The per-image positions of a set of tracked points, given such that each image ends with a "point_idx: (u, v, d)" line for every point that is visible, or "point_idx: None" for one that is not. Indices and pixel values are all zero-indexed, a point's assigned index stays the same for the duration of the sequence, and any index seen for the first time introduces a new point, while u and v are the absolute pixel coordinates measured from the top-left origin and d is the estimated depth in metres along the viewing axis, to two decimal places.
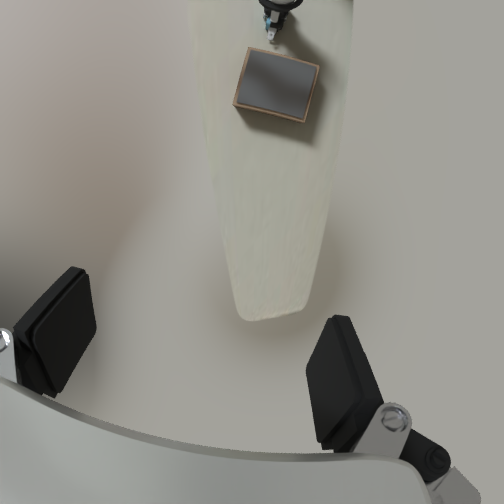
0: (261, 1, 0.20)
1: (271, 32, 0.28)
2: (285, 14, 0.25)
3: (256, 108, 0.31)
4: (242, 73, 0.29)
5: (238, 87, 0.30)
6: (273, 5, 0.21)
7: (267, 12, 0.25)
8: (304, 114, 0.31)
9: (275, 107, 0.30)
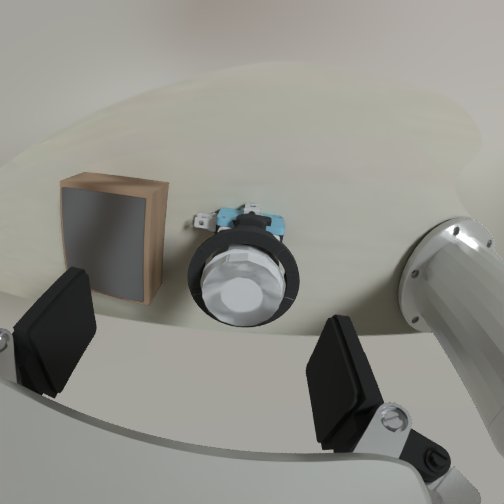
0: (204, 245, 0.13)
1: (206, 223, 0.20)
2: None
3: (62, 218, 0.18)
4: (103, 189, 0.17)
5: (82, 186, 0.17)
6: (196, 270, 0.13)
7: (236, 223, 0.18)
8: None
9: (68, 246, 0.19)
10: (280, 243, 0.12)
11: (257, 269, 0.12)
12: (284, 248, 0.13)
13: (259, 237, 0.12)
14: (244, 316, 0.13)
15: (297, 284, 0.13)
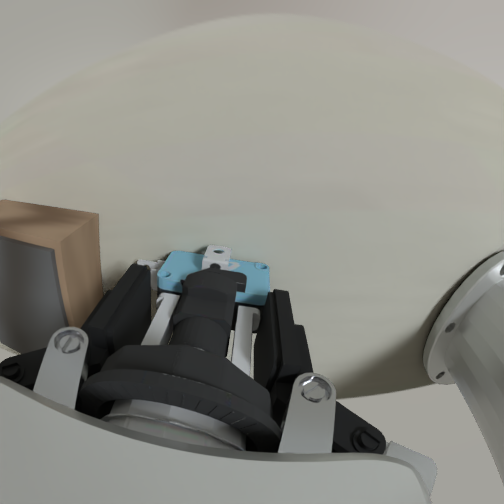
0: (87, 389, 0.05)
1: None
2: None
3: None
4: (5, 233, 0.09)
5: None
6: (91, 415, 0.05)
7: (184, 292, 0.10)
8: None
9: None
10: (238, 407, 0.05)
11: None
12: (248, 415, 0.05)
13: (187, 398, 0.05)
14: None
15: None
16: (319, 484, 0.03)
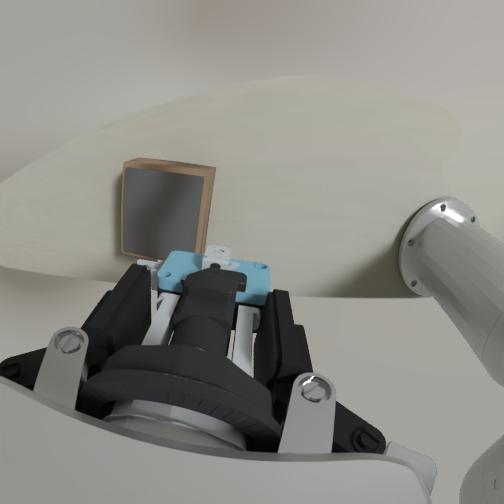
0: (88, 389, 0.05)
1: None
2: None
3: (123, 194, 0.23)
4: (166, 169, 0.22)
5: (146, 166, 0.22)
6: (92, 416, 0.05)
7: (184, 292, 0.10)
8: (129, 252, 0.26)
9: (127, 218, 0.24)
10: (240, 406, 0.05)
11: None
12: (250, 415, 0.05)
13: (189, 398, 0.05)
14: None
15: None
16: (319, 484, 0.03)
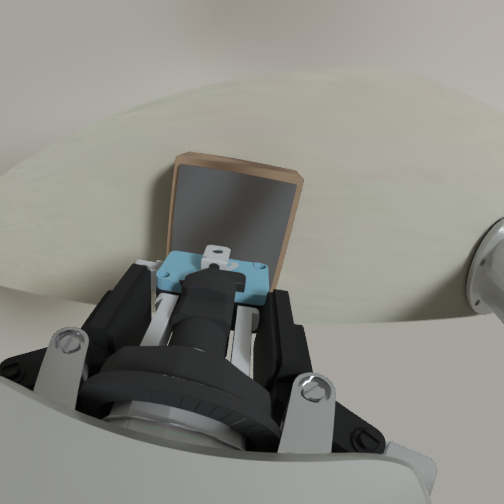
0: (86, 390, 0.05)
1: None
2: None
3: (172, 201, 0.17)
4: (242, 170, 0.17)
5: (211, 164, 0.16)
6: None
7: (183, 292, 0.10)
8: None
9: (178, 236, 0.18)
10: (239, 408, 0.05)
11: None
12: (248, 416, 0.05)
13: (187, 399, 0.05)
14: None
15: None
16: (319, 484, 0.03)
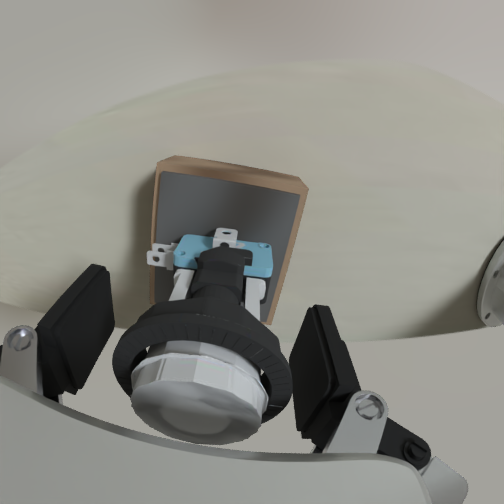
0: (126, 339, 0.07)
1: (163, 259, 0.14)
2: None
3: (154, 215, 0.15)
4: (235, 178, 0.14)
5: (198, 171, 0.14)
6: (124, 370, 0.07)
7: (199, 266, 0.12)
8: None
9: None
10: (257, 339, 0.06)
11: (213, 393, 0.06)
12: (264, 347, 0.06)
13: (216, 332, 0.06)
14: (204, 436, 0.07)
15: (289, 390, 0.07)
16: (319, 484, 0.03)
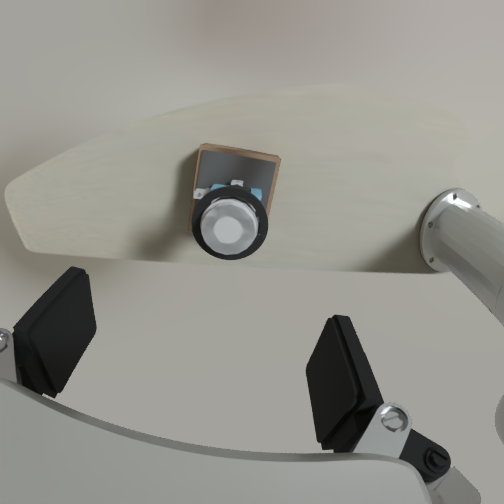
0: (203, 198, 0.19)
1: (202, 195, 0.26)
2: None
3: (196, 174, 0.27)
4: (242, 153, 0.26)
5: (222, 150, 0.26)
6: (197, 217, 0.19)
7: None
8: None
9: None
10: (253, 195, 0.19)
11: (237, 210, 0.18)
12: (256, 198, 0.19)
13: (239, 191, 0.18)
14: (230, 246, 0.19)
15: (267, 224, 0.19)
16: (319, 484, 0.03)
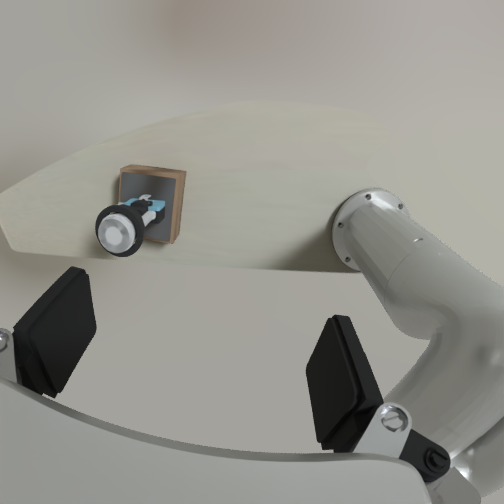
0: (100, 214, 0.24)
1: None
2: None
3: (120, 190, 0.33)
4: (150, 173, 0.32)
5: (136, 171, 0.32)
6: (98, 227, 0.25)
7: (130, 205, 0.30)
8: None
9: None
10: (129, 210, 0.24)
11: (117, 222, 0.24)
12: (131, 212, 0.24)
13: (120, 208, 0.24)
14: (116, 247, 0.25)
15: (141, 230, 0.25)
16: (319, 484, 0.03)
